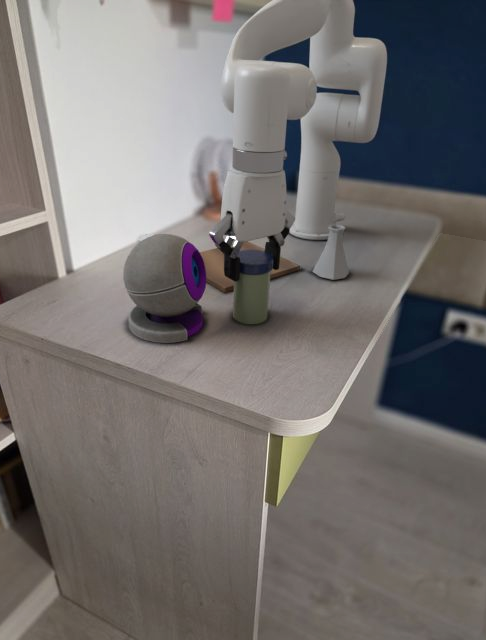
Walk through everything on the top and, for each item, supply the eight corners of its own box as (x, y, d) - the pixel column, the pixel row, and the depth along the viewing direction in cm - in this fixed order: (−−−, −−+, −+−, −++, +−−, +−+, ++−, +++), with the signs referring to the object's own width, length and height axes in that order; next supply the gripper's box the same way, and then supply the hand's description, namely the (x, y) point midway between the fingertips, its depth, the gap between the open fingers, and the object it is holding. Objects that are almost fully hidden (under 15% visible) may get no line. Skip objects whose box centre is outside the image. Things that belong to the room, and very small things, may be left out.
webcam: (194, 347, 77) (192, 255, 69) (115, 337, 78) (105, 246, 70) (213, 310, 88) (214, 226, 80) (144, 301, 89) (138, 219, 81)
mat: (246, 244, 117) (246, 240, 116) (300, 269, 105) (300, 265, 104) (173, 262, 106) (173, 258, 105) (224, 292, 94) (224, 287, 93)
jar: (246, 305, 90) (248, 250, 84) (273, 315, 87) (278, 259, 82) (225, 317, 86) (227, 260, 80) (254, 328, 83) (257, 269, 77)
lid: (248, 255, 86) (248, 246, 85) (280, 265, 82) (281, 256, 81) (224, 267, 81) (224, 257, 80) (257, 278, 78) (258, 268, 77)
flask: (327, 264, 108) (333, 219, 103) (354, 274, 104) (362, 227, 99) (306, 272, 104) (311, 225, 99) (334, 283, 100) (341, 235, 94)
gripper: (284, 152, 80) (275, 255, 89) (194, 162, 70) (195, 276, 80) (317, 160, 75) (305, 269, 84) (226, 172, 66) (223, 293, 75)
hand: (252, 272), depth 82 cm, fingers open, 7 cm apart
